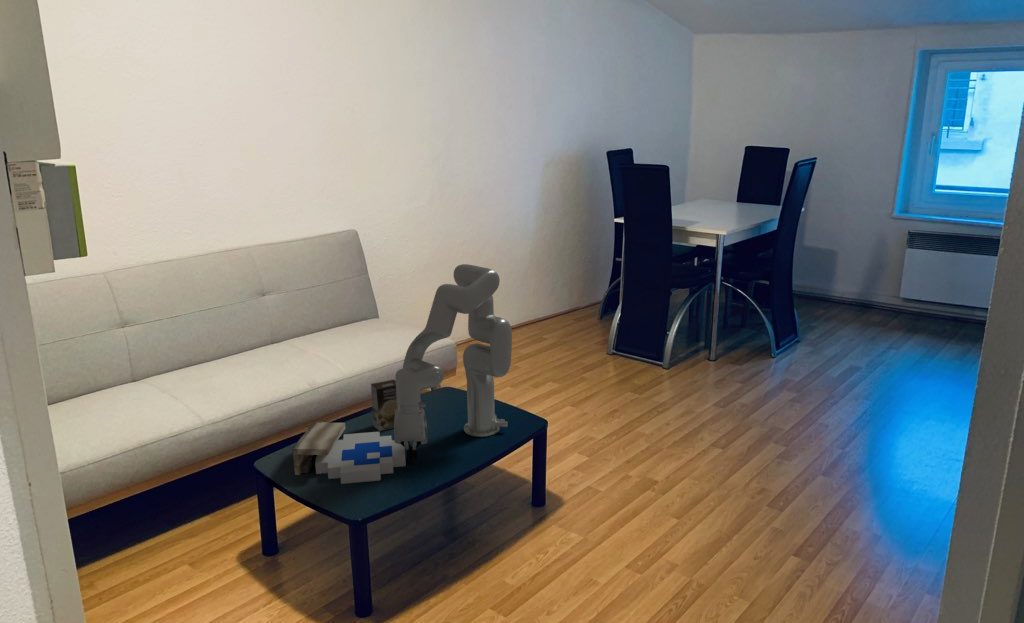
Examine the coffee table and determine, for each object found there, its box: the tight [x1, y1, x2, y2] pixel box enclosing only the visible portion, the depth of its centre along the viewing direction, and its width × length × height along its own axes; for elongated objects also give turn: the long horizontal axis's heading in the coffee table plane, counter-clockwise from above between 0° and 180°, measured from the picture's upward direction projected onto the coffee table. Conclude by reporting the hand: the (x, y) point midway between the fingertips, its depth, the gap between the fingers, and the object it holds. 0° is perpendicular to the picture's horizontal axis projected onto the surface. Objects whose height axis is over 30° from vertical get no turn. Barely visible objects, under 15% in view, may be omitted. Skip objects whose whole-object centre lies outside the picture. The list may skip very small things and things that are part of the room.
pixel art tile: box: [314, 431, 406, 485], centre depth 255 cm, size 28×4×28 cm
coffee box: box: [370, 379, 397, 432], centre depth 280 cm, size 9×6×16 cm
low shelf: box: [292, 421, 346, 476], centre depth 255 cm, size 11×20×9 cm, turn 176°
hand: (412, 459), depth 254 cm, fingers closed
